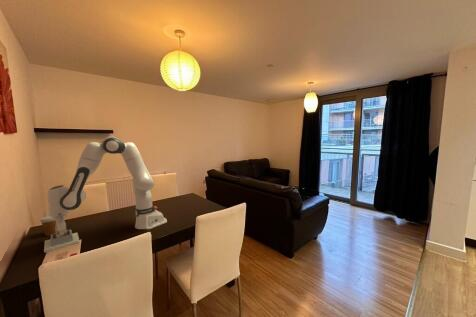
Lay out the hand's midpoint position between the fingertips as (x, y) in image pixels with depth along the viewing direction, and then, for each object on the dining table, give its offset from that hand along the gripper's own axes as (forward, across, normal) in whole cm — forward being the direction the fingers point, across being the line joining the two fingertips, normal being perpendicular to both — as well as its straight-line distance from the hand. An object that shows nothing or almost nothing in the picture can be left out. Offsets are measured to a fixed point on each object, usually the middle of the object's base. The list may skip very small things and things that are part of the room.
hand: (61, 232), depth 125 cm
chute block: (+4, 0, 0) cm, 4 cm away
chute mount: (+7, 0, 0) cm, 7 cm away
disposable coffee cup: (+7, +22, +5) cm, 24 cm away
